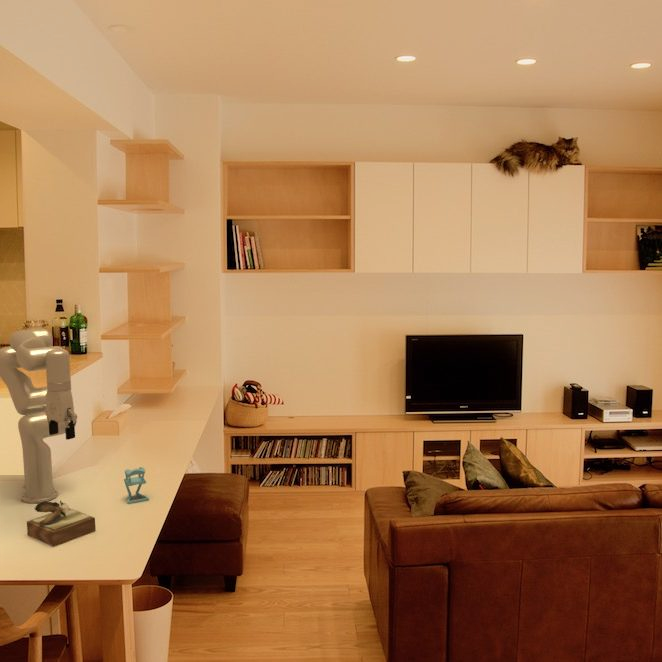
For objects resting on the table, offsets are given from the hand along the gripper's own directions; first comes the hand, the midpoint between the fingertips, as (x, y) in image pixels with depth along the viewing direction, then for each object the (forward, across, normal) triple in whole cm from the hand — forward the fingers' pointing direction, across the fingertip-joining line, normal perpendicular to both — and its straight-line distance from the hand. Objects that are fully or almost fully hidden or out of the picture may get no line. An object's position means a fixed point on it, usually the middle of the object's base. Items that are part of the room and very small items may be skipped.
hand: (62, 436), depth 249 cm
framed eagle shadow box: (+28, +11, -9) cm, 32 cm away
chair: (+28, +5, +25) cm, 38 cm away
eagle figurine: (+24, +10, -11) cm, 28 cm away
